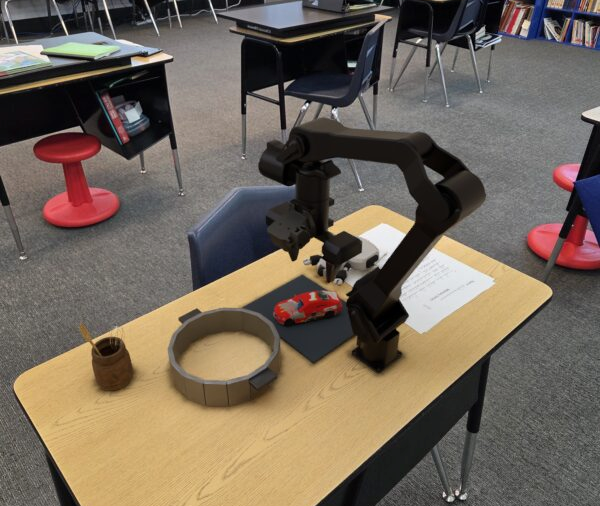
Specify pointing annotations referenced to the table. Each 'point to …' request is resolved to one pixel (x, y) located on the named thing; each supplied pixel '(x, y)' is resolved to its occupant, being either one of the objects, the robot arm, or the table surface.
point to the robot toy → (349, 261)
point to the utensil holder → (110, 361)
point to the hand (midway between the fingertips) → (311, 271)
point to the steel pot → (215, 322)
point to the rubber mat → (311, 334)
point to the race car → (307, 307)
